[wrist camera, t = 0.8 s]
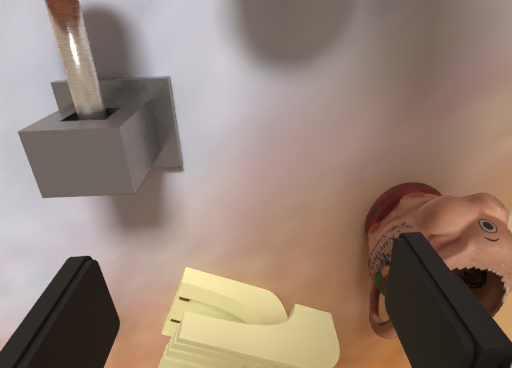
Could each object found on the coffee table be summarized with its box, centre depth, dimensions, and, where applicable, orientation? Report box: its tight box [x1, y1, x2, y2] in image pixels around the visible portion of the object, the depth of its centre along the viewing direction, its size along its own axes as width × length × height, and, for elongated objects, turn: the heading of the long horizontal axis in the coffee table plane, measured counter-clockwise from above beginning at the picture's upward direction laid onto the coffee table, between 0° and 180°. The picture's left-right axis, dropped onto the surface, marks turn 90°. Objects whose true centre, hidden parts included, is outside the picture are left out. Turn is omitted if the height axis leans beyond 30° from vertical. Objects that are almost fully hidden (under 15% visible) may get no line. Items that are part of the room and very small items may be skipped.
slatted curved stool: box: [158, 267, 340, 368], centre depth 44 cm, size 30×16×18 cm, turn 158°
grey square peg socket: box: [18, 76, 183, 198], centre depth 33 cm, size 10×12×11 cm
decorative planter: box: [366, 183, 512, 339], centre depth 38 cm, size 20×12×14 cm, turn 158°
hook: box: [45, 0, 107, 121], centre depth 27 cm, size 20×7×13 cm, turn 2°
